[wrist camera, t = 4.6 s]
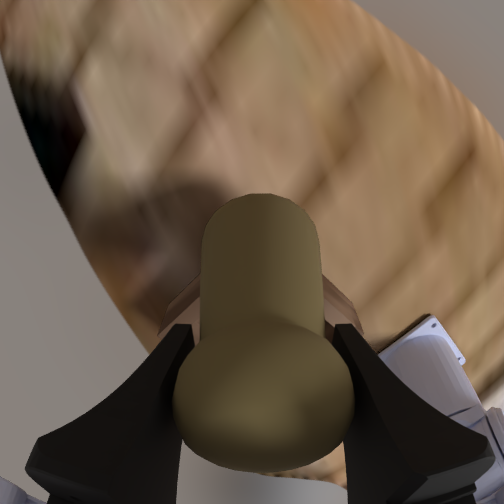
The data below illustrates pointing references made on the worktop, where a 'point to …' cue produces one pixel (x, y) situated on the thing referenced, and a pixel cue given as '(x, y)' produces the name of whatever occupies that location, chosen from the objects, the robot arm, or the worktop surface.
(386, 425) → the robot arm
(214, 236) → the cork
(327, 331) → the holder
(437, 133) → the worktop surface
